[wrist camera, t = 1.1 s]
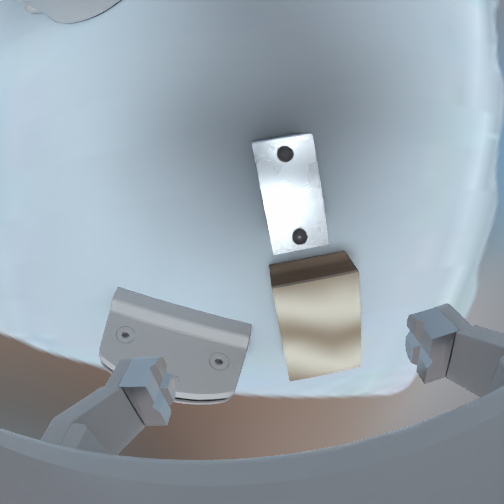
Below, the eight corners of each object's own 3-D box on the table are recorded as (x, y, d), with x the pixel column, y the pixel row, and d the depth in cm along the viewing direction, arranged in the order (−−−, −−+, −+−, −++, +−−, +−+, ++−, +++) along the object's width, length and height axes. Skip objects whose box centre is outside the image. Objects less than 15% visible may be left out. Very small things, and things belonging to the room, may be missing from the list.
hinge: (254, 325, 35) (245, 406, 27) (244, 344, 38) (234, 418, 30) (115, 286, 33) (81, 358, 25) (117, 309, 36) (89, 377, 29)
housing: (251, 141, 27) (251, 143, 21) (300, 133, 27) (313, 133, 21) (269, 231, 31) (273, 256, 25) (315, 223, 30) (330, 246, 24)
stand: (269, 265, 32) (271, 288, 27) (344, 250, 31) (359, 271, 27) (285, 352, 36) (289, 381, 32) (349, 339, 36) (360, 366, 31)
